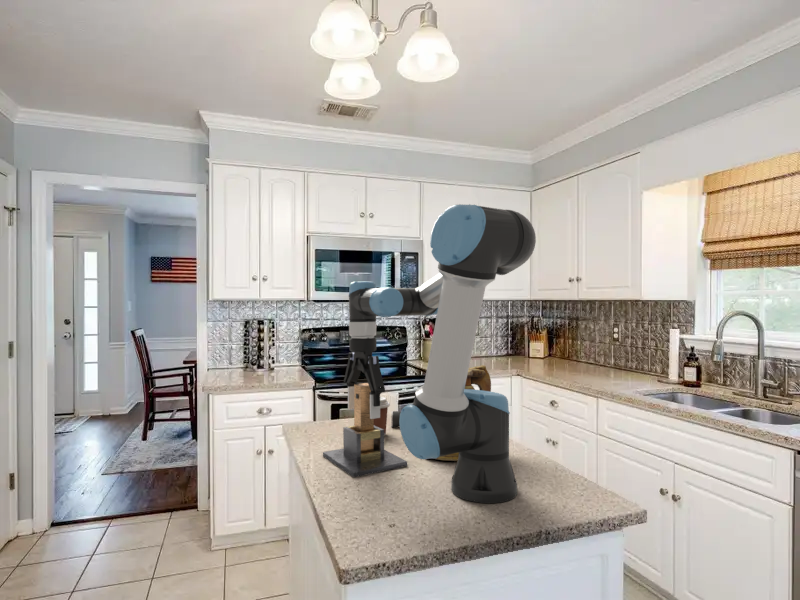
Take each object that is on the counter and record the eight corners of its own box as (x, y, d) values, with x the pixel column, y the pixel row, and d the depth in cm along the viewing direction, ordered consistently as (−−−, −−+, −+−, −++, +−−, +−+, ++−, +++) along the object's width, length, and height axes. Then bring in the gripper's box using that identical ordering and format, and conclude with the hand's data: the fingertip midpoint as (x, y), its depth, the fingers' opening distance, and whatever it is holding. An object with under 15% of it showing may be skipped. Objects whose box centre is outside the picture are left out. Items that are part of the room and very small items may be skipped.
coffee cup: (357, 433, 162) (357, 398, 162) (379, 429, 168) (379, 394, 168) (372, 439, 155) (372, 402, 155) (395, 435, 160) (395, 398, 160)
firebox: (407, 465, 130) (406, 432, 130) (353, 477, 121) (353, 441, 121) (372, 447, 147) (371, 417, 147) (323, 456, 138) (322, 424, 138)
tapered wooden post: (373, 457, 133) (373, 385, 133) (359, 460, 131) (359, 386, 131) (367, 453, 137) (367, 383, 137) (353, 455, 135) (353, 384, 134)
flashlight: (434, 424, 174) (434, 409, 174) (435, 428, 169) (435, 413, 169) (391, 424, 174) (391, 409, 175) (391, 428, 169) (391, 413, 169)
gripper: (397, 339, 126) (398, 420, 125) (355, 334, 147) (355, 403, 147) (372, 340, 122) (372, 424, 121) (332, 335, 143) (332, 406, 143)
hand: (363, 413), depth 134 cm, fingers open, 13 cm apart
